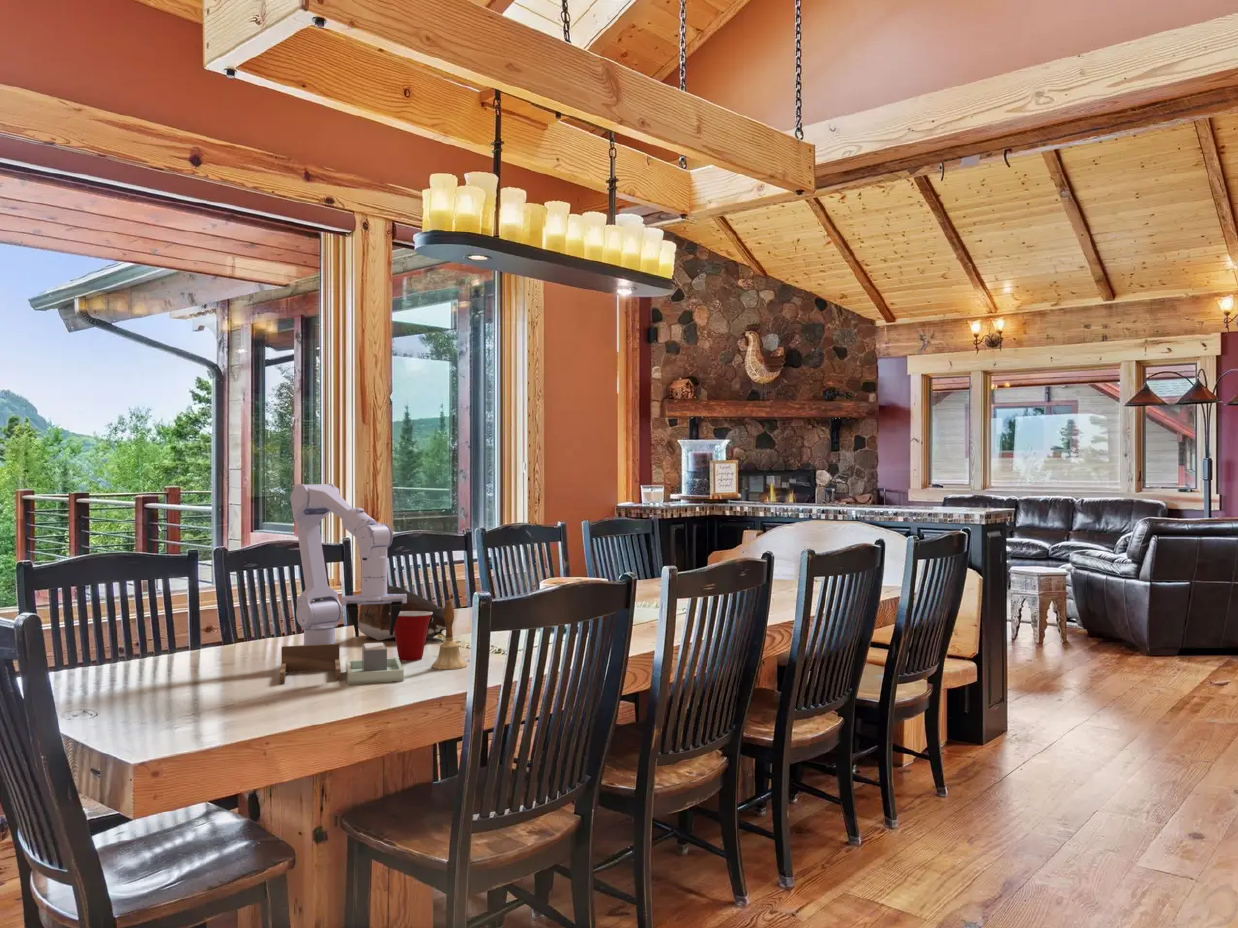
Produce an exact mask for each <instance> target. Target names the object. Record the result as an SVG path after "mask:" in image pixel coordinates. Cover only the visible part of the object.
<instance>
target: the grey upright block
mask: <svg viewBox="0 0 1238 928" xmlns="http://www.w3.org/2000/svg"><path fill="white" fill-rule="evenodd" d="M361 645H362V646H361V651H362V652H361V653H362V654H361V660H362V671H363V672H367V671H383V670H387V659H388V649H387V647H386V644H385V643H384V642H368V643H367V642H366V643H363V644H361Z"/></svg>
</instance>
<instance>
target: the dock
mask: <svg viewBox="0 0 1238 928" xmlns="http://www.w3.org/2000/svg"><path fill="white" fill-rule="evenodd" d="M280 662H281V663H280V670H279V685H285V682H286V676H287V673H289V674H290V673H299V672H300V673H303V672H319V671H333V670H334V674H335V675H334V676H335V681H336V680H337V681H341V680H342V679H341V677H342V675H341V674H342V673H341V672H342V671H341V670H342V669H341V660H340V643H335V644H320V645H304V644H303V645H287V646H286V645H285V646H284V645H283V646H281V661H280Z"/></svg>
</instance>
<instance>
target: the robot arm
mask: <svg viewBox="0 0 1238 928" xmlns="http://www.w3.org/2000/svg"><path fill="white" fill-rule="evenodd" d="M289 498H290V504H291V505H290V506H291V511H292V518H293V519H294V520H295V526H296V532H297V538H298V545H299V553H300V559H301V566H302V574H303V579H304V580H303V581H304V587H305V588H304V589H305V590H303V591H302V592H301V594H300V595H299V596H298V597H297V598H296V609H295V610H296V612H295V616H296V621H297V623H298V624H299V626H300V628H301V629H303V645H320V644H336V627H338V626H339V625H338V623H340V621H341V620H342V618H343V612H344V611H343V606H346V610H347V611H348V614H349V616H350V618H351V622H352V624H353V628H354V636H355V638H359V637H360V633H359V631H360V630H359V628H358V619H359V605H362V604H386V603H390V629H389V632H390V635H393V632H394V627H395V623H396V620H397V618H398V615H399V613H400V611H401V609H402V603H407V595H406V594H387V585H388V548H389V547H391V545H392V543H393V539H394V535H393V530H392V528H391V527H390V525H388V524H387V523H385V522H383V523H379V522H377V521H376V520H375V519H374V518H372V517H371V516H369V515H368V514H367V513H366V512H365V509H364V508H362V507H352V506H351V505H350V504H349V503H348V502H347V501H346V500H345V499H344V498H343V497H342V496H341V495H340V489H339V487H337V486H335V484H334V483H325V484H324V483H321V484H318V483H315V484H303V483H298V484H296V485H295V486H294V488H293V490H292V492H291V494H290V497H289ZM330 513H333V514H334V515H335V516H337V517H338V518H340V519H341V525H342V527H343V528H344V529H345V530H346V531H347V532H349V533H350V534H351V535H352V536H354V537H355V541H356V545H357V546H358V551H359V557H360V558H361V594H357V595H341V602H340V599H339V594H338V592H337V591H336V590H334V589H333V588H332V587H331V586H329V584H328V578H327V570H326V563H325V557H324V550H323V546H322V545H323V544H322V538H321V537H322V536H321V531H320V522H321V521H322V520H323V519H325V518H326V517H328V515H329V514H330ZM380 600H383V601H380ZM366 601H374V602H366Z"/></svg>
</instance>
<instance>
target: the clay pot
mask: <svg viewBox="0 0 1238 928" xmlns="http://www.w3.org/2000/svg"><path fill="white" fill-rule="evenodd" d="M387 594H406V595H407V603H402V609H401V611H426V612H433V614H432V615H431V617H430V620H429V624H428V630H427V636H426V639H434V637H436V636H437V635H440V634H442V633H443V631H446V625H445V622H444V616H443V611H444V608H443V607H441V606H438V605H437V604H435V603H433V601H431V600H428V599H426V598H423V597H420V596H419V595H418V594H416V593H414V592H411V591H408V590H406V589H404V588H403V587H400V586H399V587H398V586H393V585H390V584H387ZM380 601H383V600H380ZM366 602H374V601H366ZM389 613H390V603H386V604H362V605H360V607H359V612H358V629H359V631H360V633H361V634H363V635H365V636H368V637H369V638H372V639H374V640H377V641H378V640H380V641H383V640H387V639H391V638H395V634H394V632H393V635H390V632H389V629H390V615H389Z"/></svg>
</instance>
